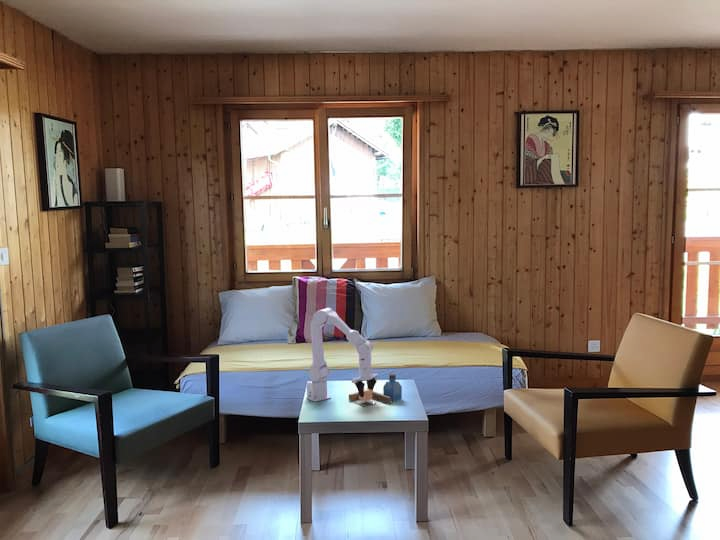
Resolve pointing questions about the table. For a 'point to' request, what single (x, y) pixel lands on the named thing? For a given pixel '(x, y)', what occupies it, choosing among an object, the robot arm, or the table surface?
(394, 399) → the perfume bottle
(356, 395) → the corner arena
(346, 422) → the table surface
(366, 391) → the terracotta cube
